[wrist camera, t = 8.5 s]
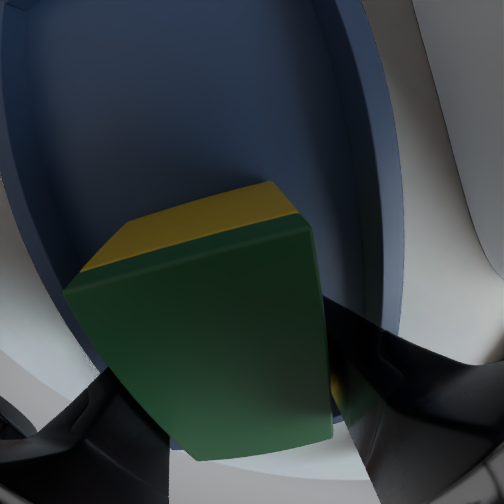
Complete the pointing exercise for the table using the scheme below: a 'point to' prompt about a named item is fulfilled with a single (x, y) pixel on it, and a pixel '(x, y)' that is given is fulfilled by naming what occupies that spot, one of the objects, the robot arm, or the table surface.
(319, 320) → the sponge
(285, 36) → the tray
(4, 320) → the table surface
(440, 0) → the ring with crossbar
